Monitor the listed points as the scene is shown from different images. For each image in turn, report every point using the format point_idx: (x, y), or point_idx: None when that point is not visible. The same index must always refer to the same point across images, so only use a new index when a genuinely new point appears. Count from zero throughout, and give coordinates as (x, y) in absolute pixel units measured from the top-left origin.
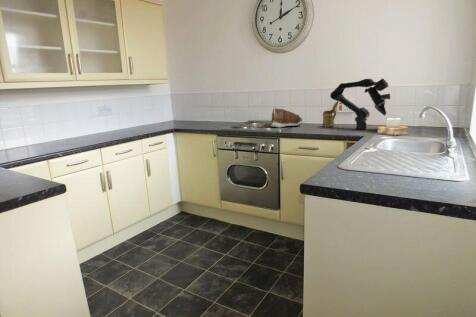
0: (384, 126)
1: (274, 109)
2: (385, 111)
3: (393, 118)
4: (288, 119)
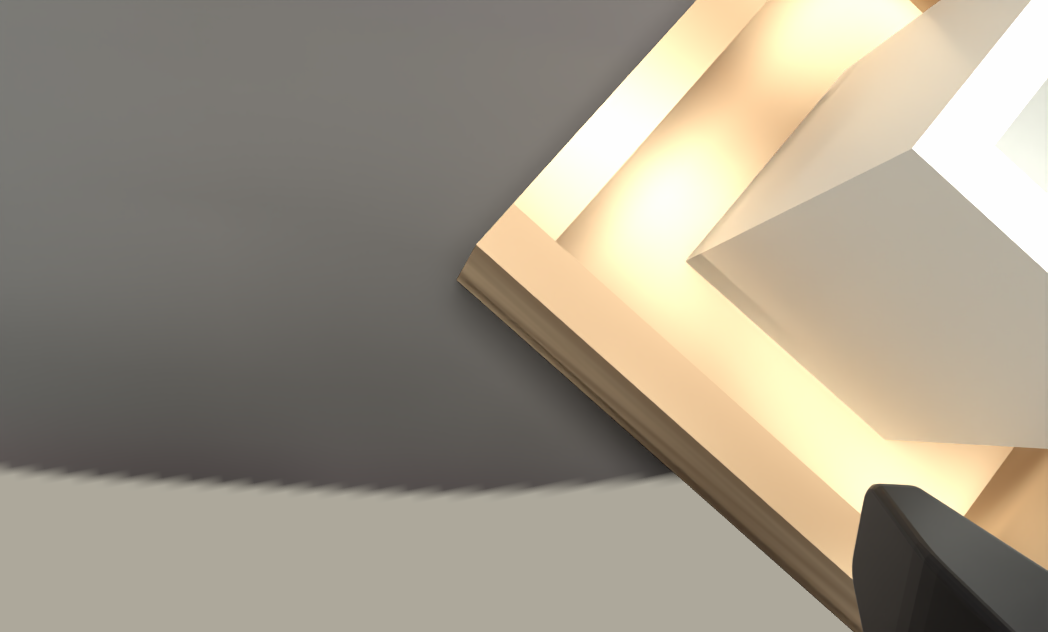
0: (832, 492)
1: None
2: (1024, 581)
3: (999, 131)
4: None
